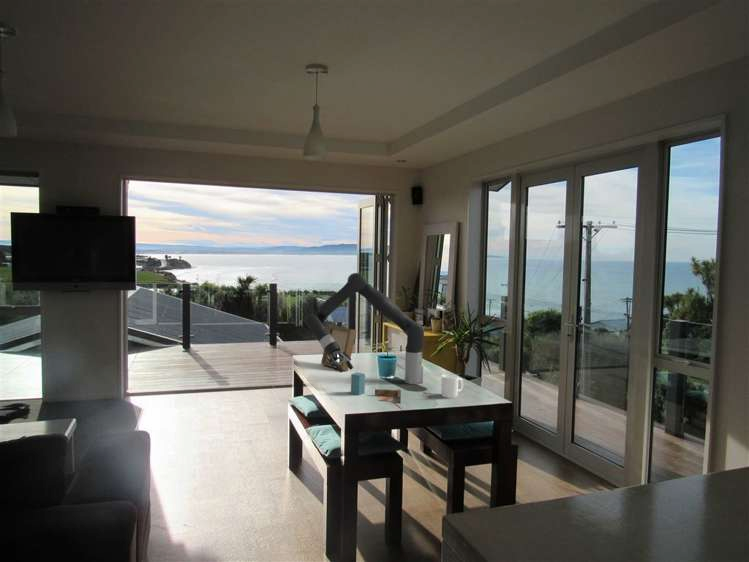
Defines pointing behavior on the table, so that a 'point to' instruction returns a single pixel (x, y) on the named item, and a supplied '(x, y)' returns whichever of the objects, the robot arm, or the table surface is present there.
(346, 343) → the photo frame
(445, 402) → the table surface
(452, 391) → the cup
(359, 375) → the teal block
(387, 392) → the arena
